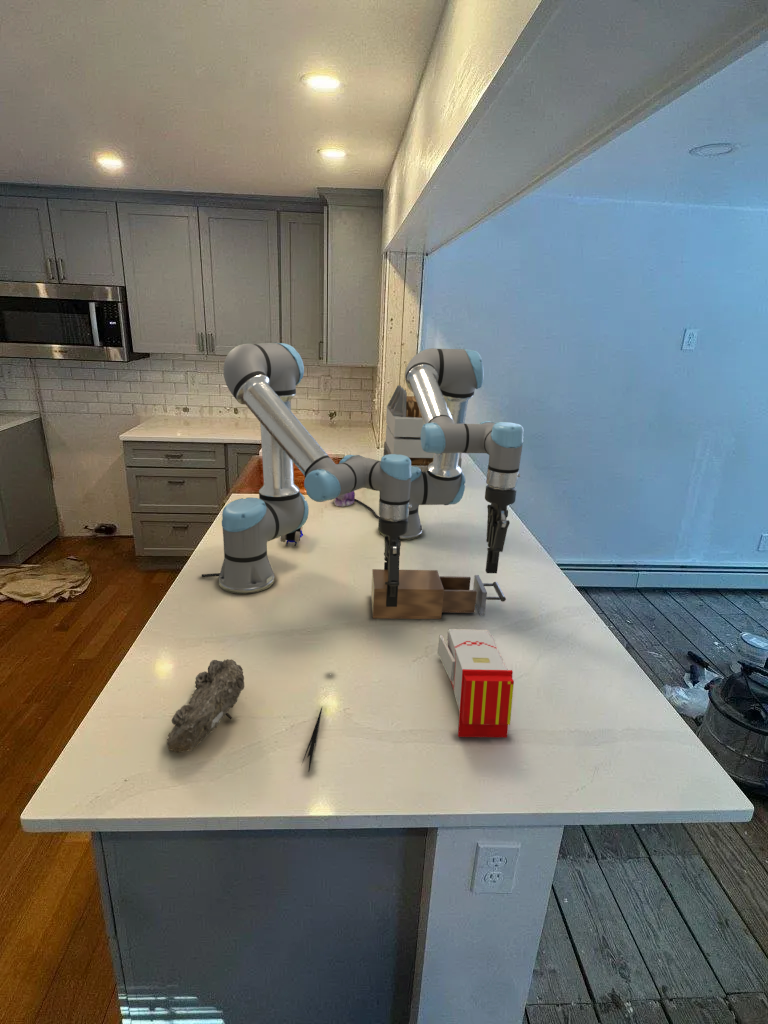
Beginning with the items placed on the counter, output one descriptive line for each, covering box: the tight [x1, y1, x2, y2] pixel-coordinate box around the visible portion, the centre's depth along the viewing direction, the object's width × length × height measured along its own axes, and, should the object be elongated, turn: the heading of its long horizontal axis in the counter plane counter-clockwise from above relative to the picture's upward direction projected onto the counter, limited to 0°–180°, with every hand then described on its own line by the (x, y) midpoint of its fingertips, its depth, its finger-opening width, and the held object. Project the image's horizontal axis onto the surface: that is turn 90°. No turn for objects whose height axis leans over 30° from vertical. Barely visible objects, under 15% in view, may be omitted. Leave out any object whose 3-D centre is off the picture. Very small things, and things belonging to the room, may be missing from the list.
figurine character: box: [280, 526, 304, 547], centre depth 189 cm, size 7×8×15 cm
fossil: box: [166, 658, 245, 754], centre depth 106 cm, size 22×10×15 cm
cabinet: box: [370, 568, 444, 620], centre depth 149 cm, size 18×11×8 cm, turn 93°
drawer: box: [439, 574, 507, 616], centre depth 150 cm, size 22×10×7 cm, turn 93°
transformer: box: [383, 384, 463, 469], centre depth 268 cm, size 34×33×41 cm
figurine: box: [333, 491, 356, 507], centre depth 225 cm, size 9×10×15 cm
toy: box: [437, 628, 515, 738], centre depth 117 cm, size 12×13×30 cm
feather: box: [301, 673, 332, 771], centre depth 108 cm, size 2×28×2 cm
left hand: (389, 594), depth 149 cm, fingers closed on cabinet, 11 cm apart
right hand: (491, 572), depth 148 cm, fingers closed
